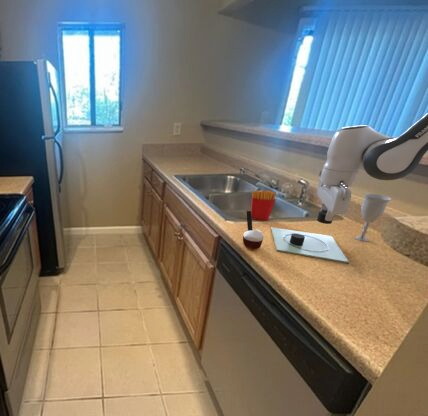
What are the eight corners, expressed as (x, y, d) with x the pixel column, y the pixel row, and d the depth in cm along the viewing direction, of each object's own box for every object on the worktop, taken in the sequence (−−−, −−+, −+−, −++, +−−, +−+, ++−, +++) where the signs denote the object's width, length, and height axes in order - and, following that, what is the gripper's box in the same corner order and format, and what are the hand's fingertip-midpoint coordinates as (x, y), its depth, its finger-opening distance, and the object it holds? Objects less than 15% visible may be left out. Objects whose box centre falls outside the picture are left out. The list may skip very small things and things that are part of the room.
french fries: (269, 217, 123) (275, 189, 119) (271, 221, 119) (277, 192, 115) (246, 215, 126) (251, 188, 121) (248, 218, 122) (253, 191, 117)
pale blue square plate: (331, 237, 105) (331, 235, 104) (348, 263, 88) (349, 261, 87) (270, 228, 113) (271, 226, 112) (276, 250, 96) (276, 249, 96)
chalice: (369, 250, 95) (388, 201, 89) (345, 243, 100) (360, 196, 94) (375, 244, 99) (393, 197, 93) (351, 237, 104) (366, 192, 98)
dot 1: (301, 241, 100) (303, 234, 99) (303, 246, 97) (306, 239, 96) (288, 239, 102) (290, 232, 101) (290, 244, 99) (292, 237, 98)
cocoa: (262, 254, 94) (269, 222, 89) (242, 251, 96) (248, 219, 92) (258, 241, 102) (264, 212, 98) (240, 239, 104) (245, 210, 100)
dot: (329, 220, 94) (332, 212, 93) (333, 224, 91) (335, 216, 90) (315, 218, 96) (317, 210, 95) (318, 222, 92) (320, 214, 91)
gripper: (362, 187, 78) (347, 231, 83) (340, 171, 95) (328, 208, 100) (335, 185, 80) (322, 227, 85) (318, 170, 98) (308, 206, 103)
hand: (325, 217), depth 93 cm, fingers closed on dot, 4 cm apart
